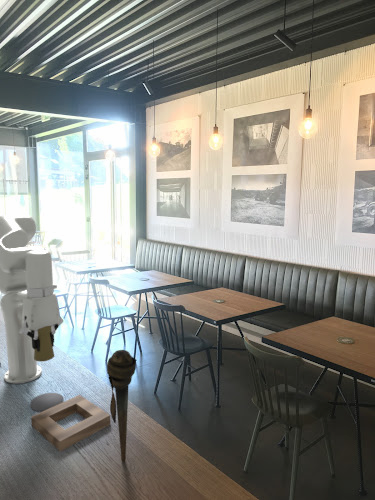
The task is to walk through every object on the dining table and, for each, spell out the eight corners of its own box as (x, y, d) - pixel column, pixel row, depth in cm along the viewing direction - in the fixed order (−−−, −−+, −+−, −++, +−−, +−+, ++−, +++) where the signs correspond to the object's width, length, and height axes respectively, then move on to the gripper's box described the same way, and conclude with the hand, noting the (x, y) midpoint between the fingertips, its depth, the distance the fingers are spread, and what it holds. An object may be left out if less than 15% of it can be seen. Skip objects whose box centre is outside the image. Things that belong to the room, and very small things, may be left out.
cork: (47, 362, 119) (45, 328, 117) (29, 360, 120) (27, 326, 118) (58, 353, 125) (56, 321, 123) (40, 352, 126) (38, 319, 124)
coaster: (24, 403, 125) (24, 401, 124) (53, 391, 132) (53, 389, 132) (39, 415, 118) (39, 414, 118) (69, 402, 125) (69, 400, 125)
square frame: (31, 426, 113) (31, 416, 113) (80, 403, 125) (79, 394, 124) (60, 451, 102) (59, 441, 102) (110, 424, 114) (110, 415, 114)
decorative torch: (127, 448, 104) (125, 342, 98) (142, 462, 99) (140, 351, 93) (104, 460, 99) (101, 349, 94) (119, 475, 94) (115, 359, 89)
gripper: (58, 283, 127) (61, 336, 130) (7, 294, 115) (11, 352, 118) (71, 288, 122) (73, 343, 125) (18, 299, 110) (22, 360, 113)
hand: (43, 347), depth 122 cm, fingers closed on cork, 3 cm apart
